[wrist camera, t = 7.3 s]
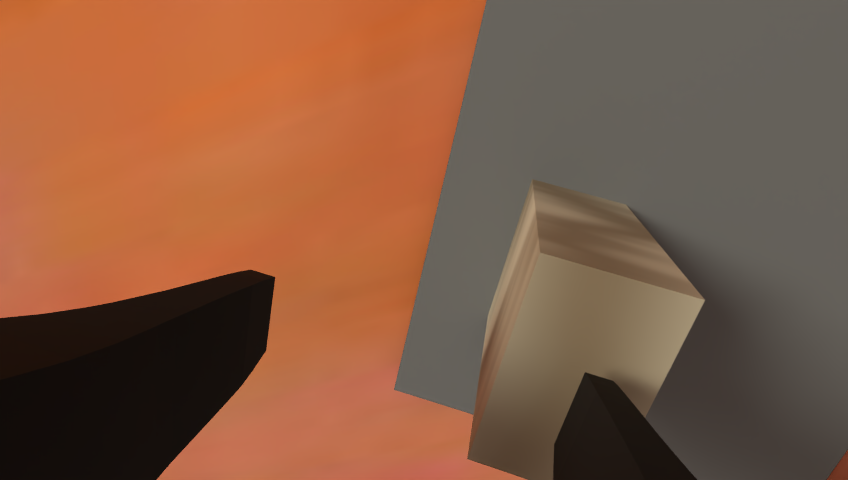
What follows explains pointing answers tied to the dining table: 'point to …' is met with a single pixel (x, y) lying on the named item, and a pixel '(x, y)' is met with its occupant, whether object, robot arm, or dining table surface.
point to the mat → (668, 206)
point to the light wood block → (573, 323)
